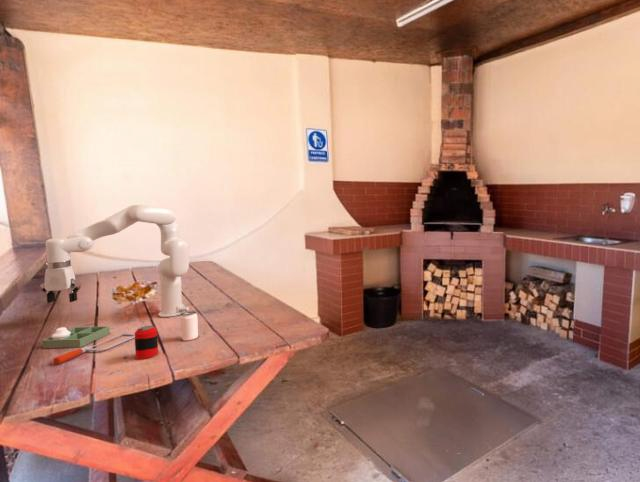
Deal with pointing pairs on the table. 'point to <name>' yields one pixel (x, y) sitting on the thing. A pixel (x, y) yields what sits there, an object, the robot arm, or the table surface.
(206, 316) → the table surface
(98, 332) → the tray
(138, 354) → the soda can
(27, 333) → the table surface
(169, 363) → the table surface
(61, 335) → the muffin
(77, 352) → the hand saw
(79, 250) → the robot arm
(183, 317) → the can
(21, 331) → the table surface
